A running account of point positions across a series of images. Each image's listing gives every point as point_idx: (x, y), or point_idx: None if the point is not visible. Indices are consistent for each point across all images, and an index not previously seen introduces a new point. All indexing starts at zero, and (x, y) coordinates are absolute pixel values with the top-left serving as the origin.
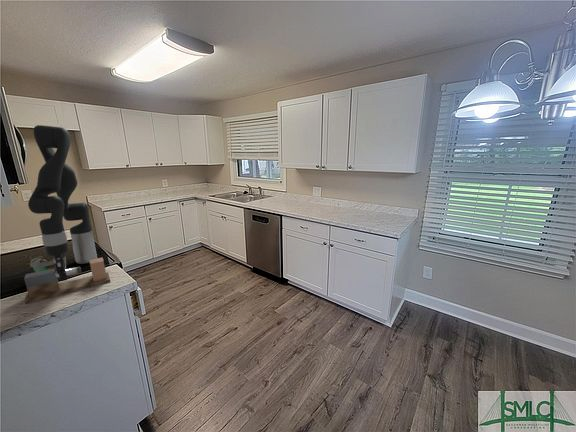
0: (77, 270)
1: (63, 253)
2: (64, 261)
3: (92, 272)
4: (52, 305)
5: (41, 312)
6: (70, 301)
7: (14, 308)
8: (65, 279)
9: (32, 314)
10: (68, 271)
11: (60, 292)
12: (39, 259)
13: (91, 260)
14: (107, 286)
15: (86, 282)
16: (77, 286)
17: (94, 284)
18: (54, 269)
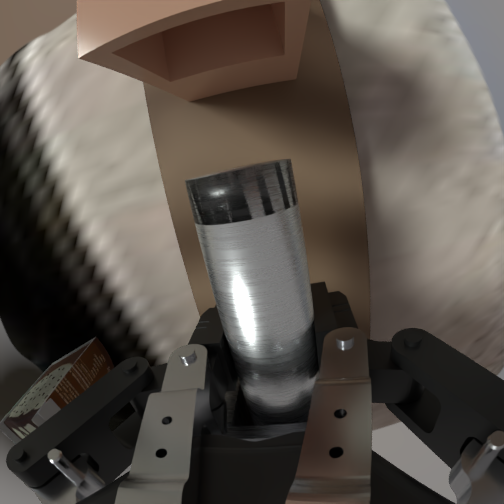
0: (296, 197)
1: (13, 471)
2: (369, 473)
3: (301, 43)
4: (469, 286)
5: (495, 311)
6: (484, 208)
7: (377, 414)
8: (340, 294)
9: (485, 337)
10: (303, 304)
11: (369, 285)
12: (22, 436)
13: (115, 15)
14: (386, 10)
15: (283, 132)
16: (335, 190)
17: (338, 74)
18: (259, 440)
